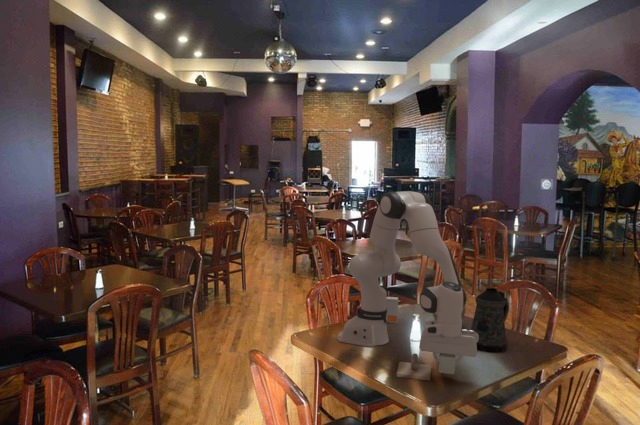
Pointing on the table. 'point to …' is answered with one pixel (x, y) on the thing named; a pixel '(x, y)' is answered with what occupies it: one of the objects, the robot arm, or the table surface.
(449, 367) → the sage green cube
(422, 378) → the post stand
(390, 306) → the skincare box
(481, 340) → the beer stein
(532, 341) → the table surface
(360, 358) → the table surface
